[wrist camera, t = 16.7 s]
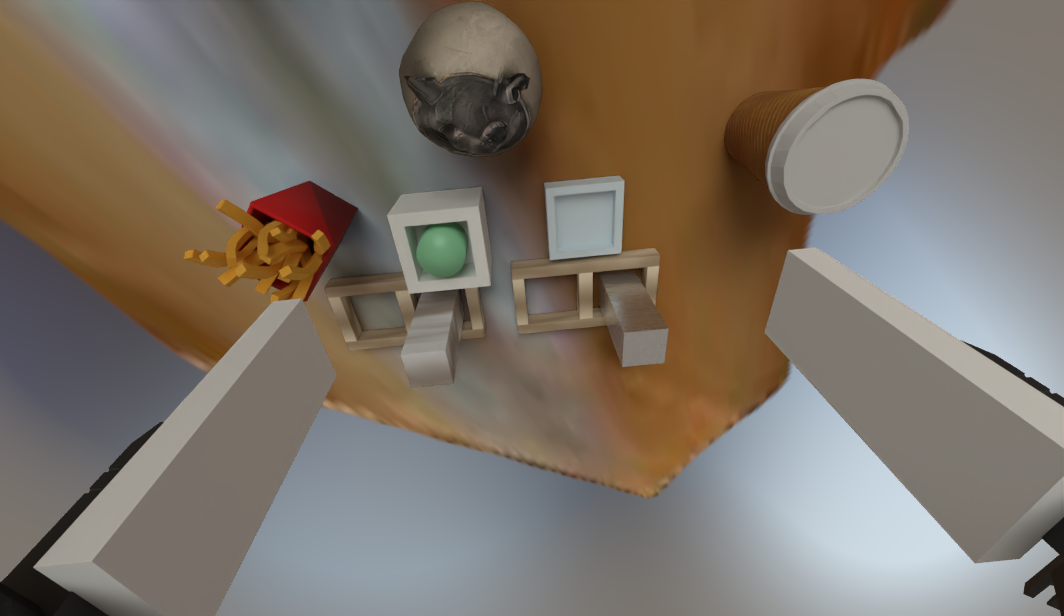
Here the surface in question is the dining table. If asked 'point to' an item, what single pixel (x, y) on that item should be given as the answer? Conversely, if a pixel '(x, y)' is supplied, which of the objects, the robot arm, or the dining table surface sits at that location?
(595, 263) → the pallet
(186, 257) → the french fries
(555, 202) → the tote
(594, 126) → the dining table surface
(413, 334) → the pallet
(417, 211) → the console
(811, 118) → the disposable coffee cup
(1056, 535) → the robot arm
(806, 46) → the dining table surface
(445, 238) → the button
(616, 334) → the block
